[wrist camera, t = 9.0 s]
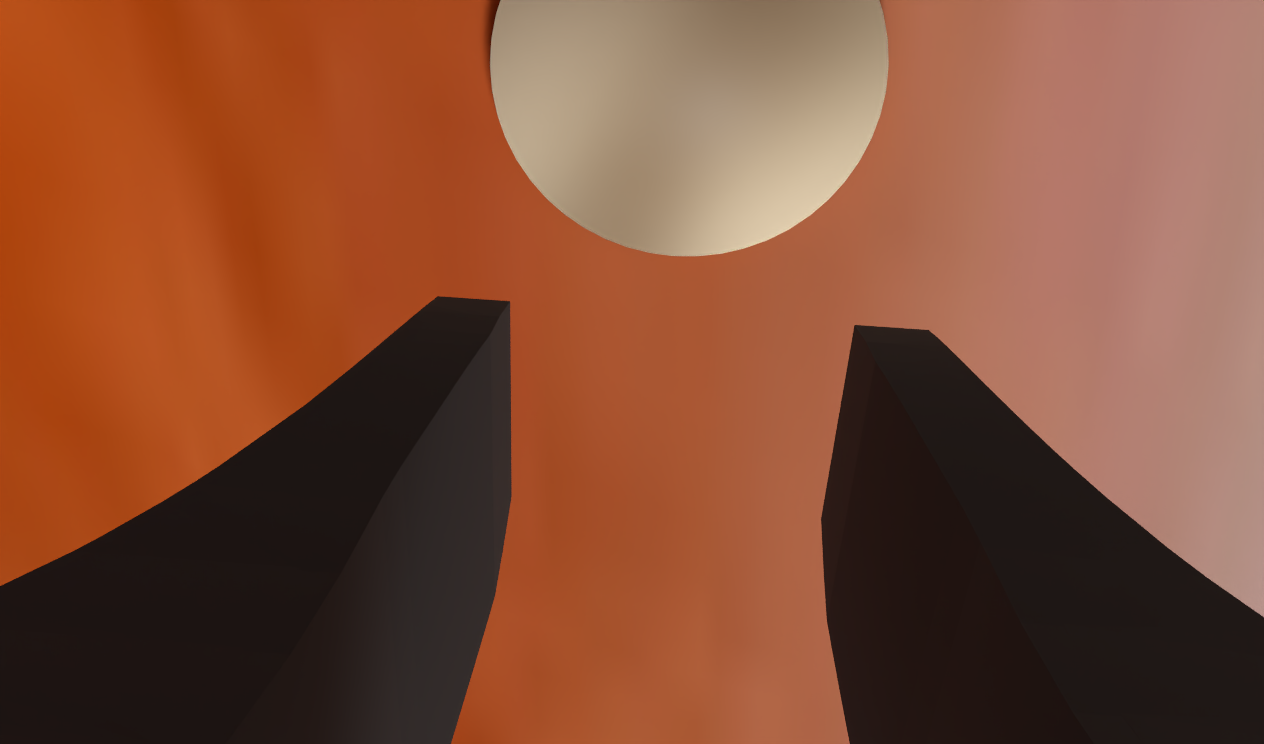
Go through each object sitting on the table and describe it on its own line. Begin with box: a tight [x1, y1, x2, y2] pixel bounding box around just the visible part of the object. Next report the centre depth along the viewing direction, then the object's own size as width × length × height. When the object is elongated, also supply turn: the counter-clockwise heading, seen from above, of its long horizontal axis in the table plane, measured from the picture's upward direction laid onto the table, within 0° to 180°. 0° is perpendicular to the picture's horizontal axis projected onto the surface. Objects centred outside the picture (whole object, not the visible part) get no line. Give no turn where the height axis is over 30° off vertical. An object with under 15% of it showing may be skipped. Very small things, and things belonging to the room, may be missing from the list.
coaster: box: [490, 0, 889, 256], centre depth 18 cm, size 6×6×1 cm
